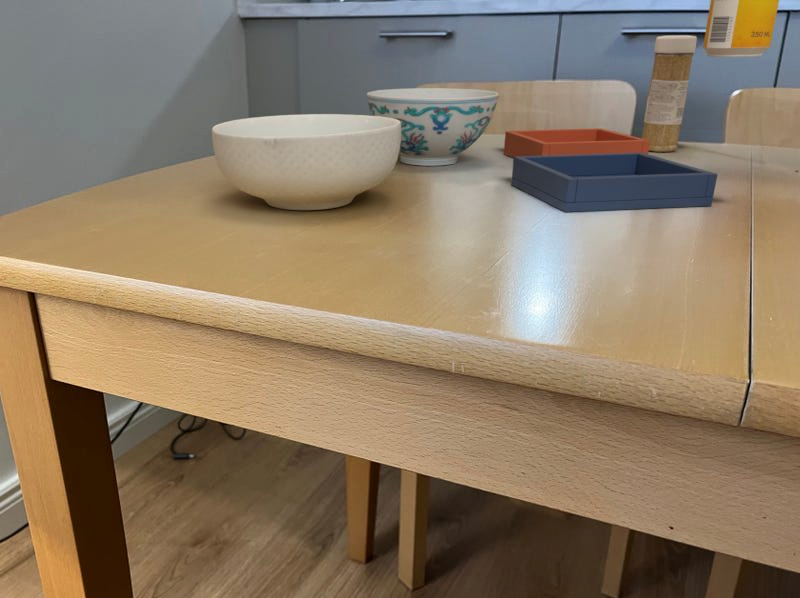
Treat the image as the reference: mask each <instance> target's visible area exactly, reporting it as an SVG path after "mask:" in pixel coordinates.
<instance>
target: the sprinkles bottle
mask: <svg viewBox="0 0 800 598" xmlns="http://www.w3.org/2000/svg"><path fill="white" fill-rule="evenodd" d="M697 40H698V37H697V36H695V35H689V34H688V35H687V34H686V35H683V34H682V35H661V36H657V37H656V39H655V42H654V49H653V53H654V56H653V57H654V58H653V59H654V60H653V65H652V72H651V76H650V83H649V89H648V95H647V98H646V107H645V112H644V119H643V122H644V123H643V129H642V135H641V138H642V139H646V140H650V145H649V151H648V152H655V153H668V152H675V151H676V150H678V141H679V136H680V129H681V125H682V122H683V118H684V117H683V116H684V111H685V105H686V100H687V94H688V88H689V82H690V74H691V67H692V62H693V61H692V60H693V57H694V56H695V52H696V48H697Z"/></svg>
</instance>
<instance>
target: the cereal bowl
mask: <svg viewBox="0 0 800 598" xmlns="http://www.w3.org/2000/svg"><path fill="white" fill-rule="evenodd" d="M211 139H212V145H213V147H212V148H213V153H214V158H215V160H216V164H217V166H218V168H219V171H220V173H221V174H222V175H223V177H224V178H225V180H226V181H228V182H229V184H230V185H232V186H233V187H234V188H236V189H237V190H239V191H241V192H243V193H246V194H248V195H251V196H253V197H257V198H259V199H262V200H264V201H265V203H266V204H267V205H269V206H270V207H273V208H276V209H280V210H290V211H321V210H329V209H335V208H340V207H344V206H347V205H349V204H350V203H352V201H353V200H354V198H355V197H356V196H358V195H360V194H362V193H364V192H366V191H369V190H371V189H372V188H374V187H376V186H377V185H379V184H381V182H383V181H384V180H385V179H386V178H387V177H388V176H389V175H390V174H391V172H392V171H393V169H394V168H395V166H396V164H397V162H398V159H399V154H400V153H399V149H400V144H401V123H400V121H399V120H396V119H393V118H387V117H380V116H371V115H366V114H341V113H309V114H308V113H307V114H305V113H304V114H281V115H268V116H257V117H248V118H247V117H246V118H240V119H233V120H229V121H225V122H221V123H218V124H216V125H214V126H212V128H211Z"/></svg>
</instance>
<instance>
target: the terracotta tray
mask: <svg viewBox="0 0 800 598" xmlns="http://www.w3.org/2000/svg"><path fill="white" fill-rule="evenodd" d="M503 144H504V146H503V155H505V156H508V157H510V158H513V159H514V157H518V156H521V157H522V156H548V155H579V154H610V153H645V154H648V155H649V152H650V151H649V145H650V140H646V139H642V137H638V136H634V135H629V134H626V133H622V132H617V131H613V130H610V129H606V128H602V127H599V128H597V127H596V128H595V127H594V128H565V129H563V128H562V129H560V128H559V129H529V130H527V129H526V130H525V129H524V130H506V131H505V134H504V143H503Z"/></svg>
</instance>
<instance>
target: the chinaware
mask: <svg viewBox="0 0 800 598" xmlns="http://www.w3.org/2000/svg"><path fill="white" fill-rule="evenodd" d="M366 100H367V105H368V110H369V114H370V116H380V117H387V118H393V119H396V120H399V121H400V123H401V144H400V149H399V154H400V159H399V161H400V162H401V163H403V164H406V165H412V166H423V167H424V166H425V167H439V166H449V165H454V164H456V163H457V162H458V158H459V157H458V156H459V154H461V153H463V152H464V151H466V150H468V149H469V148H470V147H471V146H472V145H474V143H476V142H477V141H478V139H479V138H480V137H481V136H482V135H483V133H484V132H485V131H486V129H487V128H488V126H489V124H490V122H491V120H492V118H493V115H494V112H495V110H496V106H497V103H498V100H499V93H498V92H497V91H492V90H485V89H474V88H472V89H471V88H447V87H445V88H444V87H443V88H441V87H421V88H419V87H418V88H415V87H414V88H413V87H411V88H390V89H389V88H388V89H379V90H372V91H368V92H367V93H366Z"/></svg>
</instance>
